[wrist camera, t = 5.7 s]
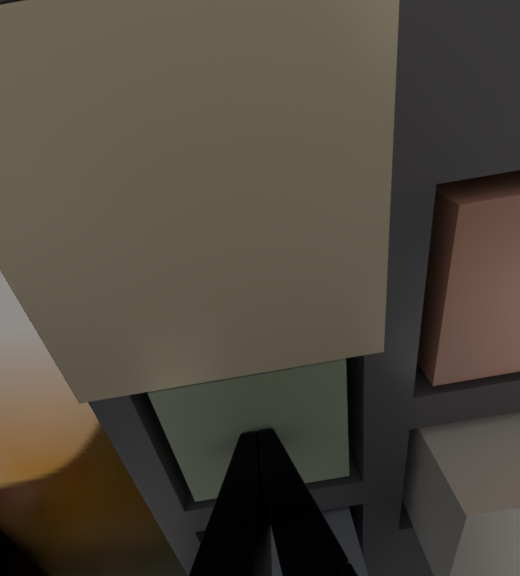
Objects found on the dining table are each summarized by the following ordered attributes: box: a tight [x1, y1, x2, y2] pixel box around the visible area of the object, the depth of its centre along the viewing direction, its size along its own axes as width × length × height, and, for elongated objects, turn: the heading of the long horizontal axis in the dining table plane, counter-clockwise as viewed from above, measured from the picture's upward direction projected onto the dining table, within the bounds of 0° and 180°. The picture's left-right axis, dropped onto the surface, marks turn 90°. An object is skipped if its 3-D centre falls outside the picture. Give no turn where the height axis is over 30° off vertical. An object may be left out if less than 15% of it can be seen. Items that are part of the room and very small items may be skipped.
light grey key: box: [402, 411, 520, 576], centre depth 10 cm, size 4×4×3 cm
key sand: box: [0, 0, 399, 403], centre depth 5 cm, size 4×4×3 cm
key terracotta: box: [417, 170, 520, 386], centre depth 9 cm, size 4×4×3 cm
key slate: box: [271, 506, 368, 576], centre depth 12 cm, size 4×4×3 cm
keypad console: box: [0, 0, 520, 576], centre depth 11 cm, size 19×21×4 cm
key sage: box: [148, 359, 349, 502], centre depth 10 cm, size 4×4×3 cm
